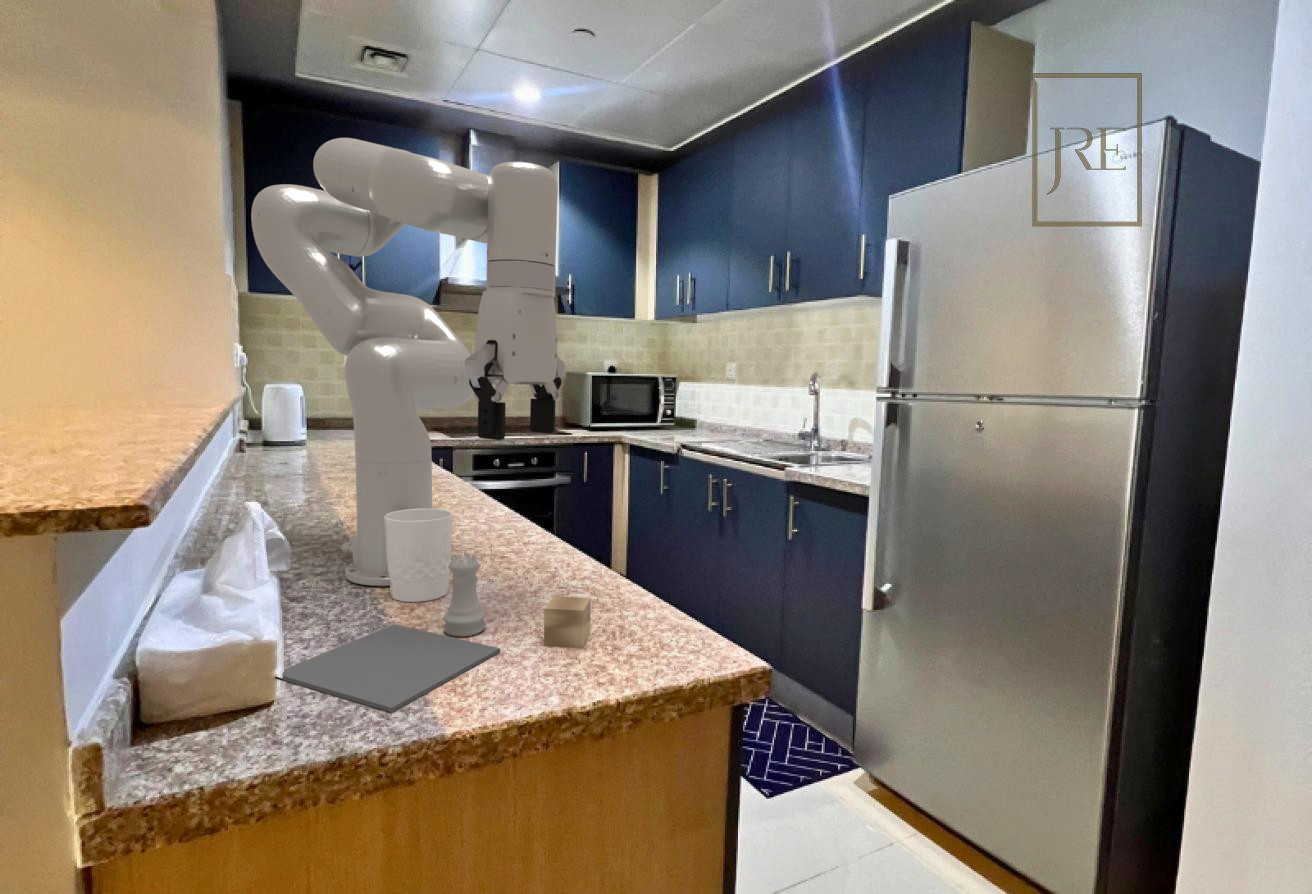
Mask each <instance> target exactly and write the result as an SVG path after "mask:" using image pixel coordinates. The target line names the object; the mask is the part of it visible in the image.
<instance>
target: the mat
mask: <svg viewBox="0 0 1312 894" xmlns="http://www.w3.org/2000/svg"><path fill="white" fill-rule="evenodd" d="M499 652H500V653H501V647H496V646H492V645H487V644H483V643H479V642H474V641H470V640H466V639H461V638H458V637H454V636H450V635H449V636H448V635H443V634H441V633H434V632H430V631H426V630H421V629H417V628H413V627H408V626H404V625H401V624H400V625H399V624H396V623H394V624H392V625H391V624H390V625H389V626H386V627H384V628H381V629H378V630H376V631H373V632H372V633H368V634H367V635H364V636H362V637H359V638H357V639H354V640H353V641H349V642H346V643H345V644H343V645H339V646H337V647H335V648H332V649H330V650H328V651H324V652H323V653H320V654H318V655H316V656H313V657H311V658H308V659H306V660H305V659H304V660H303V661H301V662H298V663H296V664H294V665H291V666H288V667H286V668H283V669H284V672H283V680H282V681H285V682H289V683H292V684H294V685H299V686H302V687H305V688H307V689H312V690H315V691H318V692H322V693H325V694H327V695H328V694H329V695H331V696H335V697H339V698H342V699H345V700H349V701H352V702H355V703H359V704H362V705H365V706H368V707H372V708H376V709H379V710H381V711H385V712H388V713H394V712H395V711H397V710H399V709H401V708H403V707H404V706H406V705H408V704H410V703H412V702H413V701H416V700H417V699H419V698H421V697H423V696H424V695H426V694H428V693H431V691H433V690H435V689H437V688H438V686H439V687H440V686H442V685H444V684H446V683H447V682H449V681H451V680H452V679H455V678H456V677H458V676H460V675H462V674H464V673H466V672H468V671H469V670H471V669H473V668H474V666H475V667H476V666H478V665H480V664H482V663H484V662H485V661H487V660H489V659H491V658H492V656H493V657H494V656H496V655H497V654H500V653H499ZM483 661H484V662H483ZM481 662H482V663H481ZM479 663H480V664H479ZM477 664H478V665H477ZM472 667H473V668H472ZM470 668H471V669H470ZM465 671H466V672H465ZM445 682H446V683H445ZM422 695H423V696H422Z"/></svg>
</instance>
